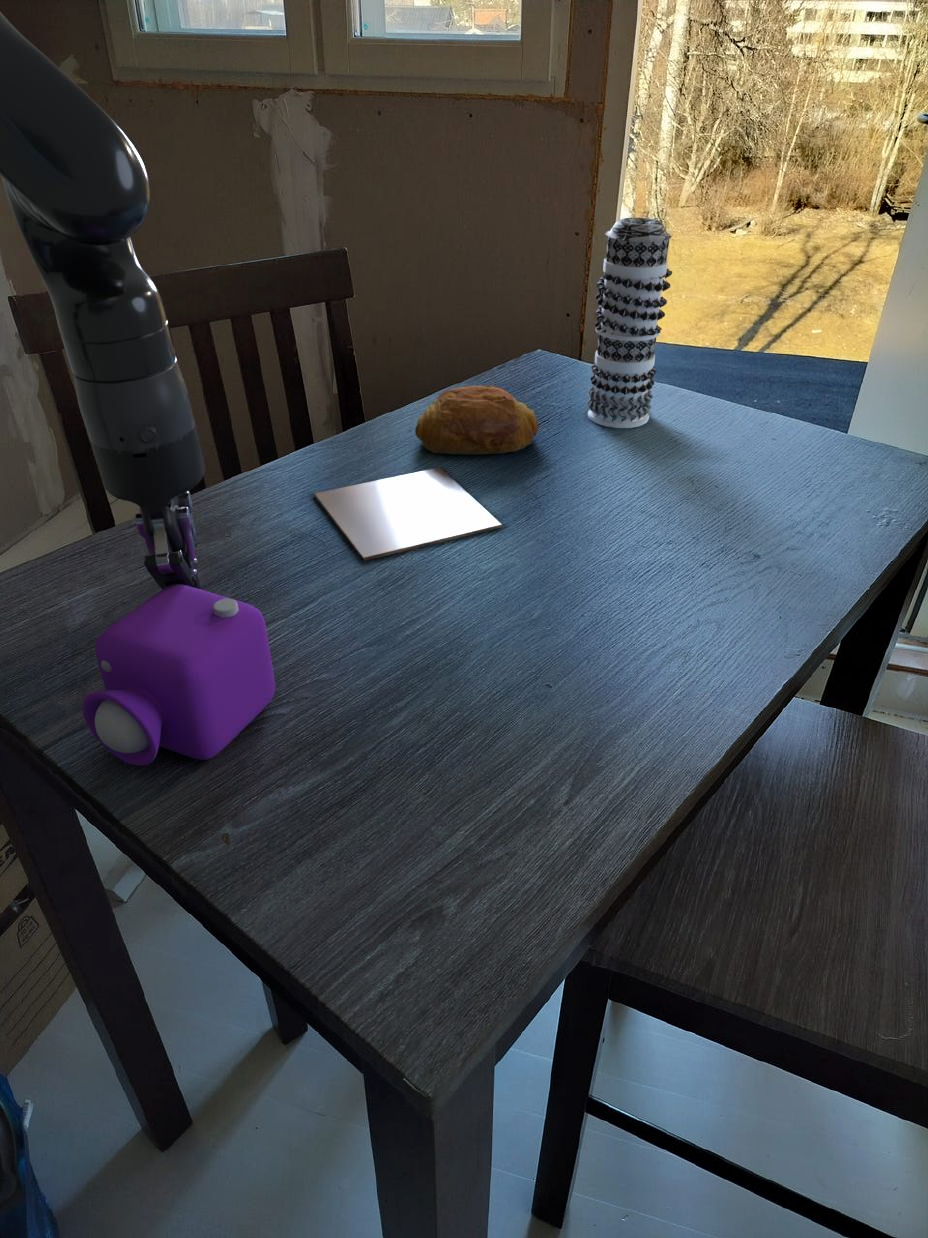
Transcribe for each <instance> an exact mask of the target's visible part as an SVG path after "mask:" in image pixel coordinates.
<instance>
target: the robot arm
mask: <svg viewBox="0 0 928 1238" xmlns="http://www.w3.org/2000/svg"><path fill="white" fill-rule="evenodd" d="M50 59H51V58H49V57H47V55H45V54H44V53H43V52H42V51H41V50H39V49H38V47H36V46H35V45H34V44H33V43H31V42H30V41H29V40H28V39H27V38H26V37H25V36H24V35H22V33H21V32H20V31H19V30H18V29H17V28H16V27H15V26H14V25H13V24H12V23H11V22H10V21H9V20H8V19H7V18H6V16H4V14H3V13H2V12H1V11H0V176H1V179H2V183H3V186H4V191H5V193H6V197H7V201H8V203H9V205H10V208H11V211H12V213H13V216H14V219H15V221H16V223H17V226H18V229H19V231H20V233H21V236H22V238H23V239H24V243H25V244H26V247H27V249H28V251H29V253H30V254H29V255H30V256H31V259H32V260H33V263H34V265H35V267H36V269H37V271H38V274H39V275H40V278H41V280H42V282H43V284H44V286H45V288H46V290H47V292H48V295H49V298H50V301H51V303H52V307H53V309H54V313H55V318H56V322H57V326H58V330H59V334H60V337H61V341H62V343H63V347H64V350H65V353H66V357H67V360H68V364H69V366H70V370H71V372H72V376H73V380H74V385H75V392H76V398H77V404H78V408H79V411H80V414H81V417H82V420H83V421H82V422H83V423H84V427H85V430H86V433H87V437H88V439H89V443H90V446H91V450H92V452H93V456H94V459H95V462H96V465H97V468H98V469H97V470H98V471H99V475H100V478H101V482H102V484H103V487H104V489H105V490H106V492H107V493H108V494H110V495H111V496H113V497H114V498H116V499H119V500H121V501H125V502H126V501H127V502H130V503H133V504H135V505H137V506H138V508H139V512H135V513H134V519H135V524H136V527H137V530H138V534H139V535H140V536H141V537H142V538H144V539H143V540H144V542H145V545H146V548H147V551H148V555H145V556H144V562H143V563H144V567H145V568H146V570H147V572H148V573H149V575H150V576H151V578H152V579H153V580H154V581H155V582H156V584H157V585H158V586H159V588H160V589H161V590H163V589H164V588H166V587H168V586H171V585H175V584H180V585H186V586H190V587H194V588H197V589H200V590H202V587H201V583H200V579H199V575H198V570H197V569H198V565H199V561H198V558H197V556H196V552H197V548H198V542H197V538H198V537H197V536H198V534H197V531H196V526H195V521H194V517H193V505H194V504H193V499H192V495H191V490H192V489H193V488H195V487H196V486H197V485H198V484H199V483H200V482H201V481H202V479H203V477H204V476H205V474H206V473H205V472H206V465H205V461H204V457H203V452H202V447H201V443H200V439H199V435H198V430H197V425H196V422H195V418H194V414H193V408H192V405H191V400H190V396H189V391H188V388H187V385H186V381H185V379H184V376H183V374H182V371H181V368H180V366H179V362H178V359H177V356H176V352H175V347H174V342H173V339H172V334H171V329H170V325H169V320H168V316H167V311H166V309H165V304H164V301H163V299H162V296H161V293H160V291H159V289H158V287H157V285H156V284H155V283H154V281H153V280H152V279H151V277H150V276H149V275H148V274H147V272H146V271H145V269H144V268H143V267H142V265H141V263H140V262H139V259H138V258H137V255H136V252H135V248H134V246H133V241H132V239H131V237H132V236H133V235H135V234H136V233H137V232H138V231H139V230H140V228H141V227H142V226H143V224H144V222H145V221H146V218H147V216H148V213H149V209H150V204H151V185H150V184H151V183H150V179H149V175H148V172H147V168H146V166H145V164H144V161H143V159H142V157H141V156H140V153H139V152H138V150H137V148H136V147H135V145H134V144H133V143H132V141H131V140H130V138H129V137H128V136H127V134H126V133H125V132H124V131H123V130H122V128H120V126H119V125H118V124H117V123H116V122H115V121H114V120H113V118H111V117H110V115H109V114H108V113H106V111H105V110H104V109H103V108H102V107H101V106H100V105H98V104H97V102H96V101H95V100H93V98H92V97H90V96H89V95H88V94H87V93H86V92H85V91H84V90H83V89H82V88H81V87H80V86H79V85H78V84H77V83H76V82H74V81H73V80H72V79H71V77H69V76H68V75H67V74H66V73H65V72H64V71H63V70H61V68H59V67H58V66H57V65H56V64H55V63H54V62H53V61H52V60H50Z"/></svg>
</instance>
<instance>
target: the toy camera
mask: <svg viewBox="0 0 928 1238" xmlns="http://www.w3.org/2000/svg"><path fill="white" fill-rule="evenodd" d="M94 651H95V652H94V653H95V656H96V660H97V664H98V668H99V672H100V676H101V679H102V682H103V685H104V688H105V690H104V689H103V690H98V691H97V690H96V691H92V692H90V693H89V694H87V695H86V696H85V697H84V698H83V701H82V706H81V707H82V709H81V710H82V715H83V717H84V718H83V719H84V720H85V723H86V725H87V726H88V728H89V730H90V731H91V733H92V734H93V736H94V737H95V738H96V739H97V740H98V742H99V743H100V744H101V745H102V747H104V748H105V749H106V750H107V751H108V752H110V753H111V754H112V755H113V756H115V757H116V758H118V759H120V760H121V761H123V762H125V763H127V764H130V765H133V766H137V767H144V766H149V765H150V764H151V763H153V762H154V761H155V759H156V758H157V756H158V755H157V754H158V752H159V747H161V748H163V749H166V750H169V751H171V752H174V753H177V754H179V755H183V756H185V757H188V758H192V759H194V760H199V761H207V760H210V759H212V758H214V757H215V756H217V755H218V754H219V753H220V752H221V751H223V750H224V748H226V747H227V746H228V745H229V744H230V743H231V742H232V741H233V740H234V739H235V738H236V737H237V736H238V735H239V734H240V733H241V732H242V731H243V730H244V729H245V728H246V727H247V726H248V725H249V724H250V723H251V722H252V721H253V720H254V719H255V718H256V717H258V715H259V714H260V713H261V712H262V711H263V710H264V709H265V708H266V707H267V706H268V705H269V704H270V702H271V701H272V699H273V698H274V696H275V692H276V681H275V674H274V667H273V661H272V655H271V650H270V643H269V637H268V632H267V626H266V622H265V617H264V616H263V614H262V612H261V610H260V609H258V608H257V607H255V606H253V605H251V604H248V603H246V602H243V601H240V600H237V599H234V598H230V597H227V596H223V595H221V594H217V593H214V592H210V591H207V590H203V589H201V590H200V589H197V588H194V587H190V586H186V585H180V584H175V585H171V586H168V587H166V588H164V589H163V590H162V589H161V590H159V591H158V592H156V593H155V594H154V595H152V596H151V597H150V598H148V599H147V600H145V601H144V602H142V603H141V604H140V605H138V606H137V607H135V608H134V609H133V610H131V611H129V612H128V613H127V614H126V615H124V616H123V617H122V618H120V619H118V620H117V621H116V622H115V623H113V624H112V625H111V626H109V627H108V628H106V629H105V630H104V631H103V632H102V633H101V634H100V635H98V637H97V639H96V640H95V645H94Z"/></svg>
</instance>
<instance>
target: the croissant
mask: <svg viewBox="0 0 928 1238" xmlns="http://www.w3.org/2000/svg"><path fill="white" fill-rule="evenodd" d="M416 422H417V423H416V426H415V430H414V432H415V433H414V434H415V437H416V438H417V439H419V440H420V441H421V443H422V445H423V448H425V449H426V450H428V451H429V452H431V453H435V454H447V455H449V454H450V455H489V454H490V455H492V454H493V455H494V454H506V453H508V452H517V451H519V450H522V449H525V448H526V446H529V445H531V444H532V443H533V441H534V437H536V436H537V434H538V431H539V422H538V418H537V415H536V413H535V410H533V409H530V408H529V407H528V406H527V404H525V403H523V402H521V401H518V400H516V398H515V397H514V396H513V395H512V394H510V393H509V392H508V391H506V390H505V388H502V387H501V388H500V387H497V386H493V385H488V384H486V385H467V386H461V387H456V388H455V387H454V388H451V389H449V390H443V391H442V392H441V393H439V395H438V396H437V397H436V399H435V400H433V402H432V403H431V404H430V405H429V406H428V407H427V408H426V409H425V411H424V413H423V414H421V415H420V416H419V418H418V419H417V421H416Z"/></svg>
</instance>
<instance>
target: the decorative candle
mask: <svg viewBox="0 0 928 1238" xmlns="http://www.w3.org/2000/svg"><path fill="white" fill-rule="evenodd" d="M604 235H605V236H606V237H607V244H606V256H605V258H603V268H602V272H603V276H601V277H600V278H599V279H598V282H597V283H596V287H597V291H598V293H597V294H596V295H595V299H596V303H597V305H599V306H598V307H597V309H596V311H595V312H594V314H595V316H596V322H595V323H594V325H593V326H594V327H595V329H594V330H595V332H596V333H597V335H598V339H597V349H596V351H594V352H595V353H594V362H593V364H592V365H591V367H590V368H591V371H592V373H593V375H591V377H590V381H591V384H592V386H591V387H590V388H589V390H588V395H589V399H588V401H587V405H588V408H589V410H588V411H587V416H588V419H589V420H590V421H591V422H593V423H595V424H597V425H600V426H603V427H608V428H614V429H632V428H637V427H641V426H644V425H645V424H647V423H648V421H649V419H650V414H649V413H650V410H651V409H652V405H651V404H650V403H651V402H652V399H653V397H654V395H653V393H652V388H653V386H654V385H655V380H653V378H654V377H655V375H656V373H657V369H656V368H655V360H656V353H655V352H656V344H657V338H658V337H659V336H660V334H662V333H661V332H662V330H663V329H662V327H661V326H659V324H658V321H660V320H663V318H665V316H666V313H665V312H664V310H663V309H662V308H663V307H665V306H666V305H667V304H668V300H667V298H665V297H664V296H663V295H662V292H663V293H664V292H666V291H667V290H668V289H670V288H671V283H670V282H668V280H667V279H668V278H669V277H671V276H672V274H673V270H670V269H669V268H668V263H669V261H668V253H669V246H670V239H671V238H672V237H673V235H671V233H670V232H668V231H667V230H666V226H665V225H664V223H663V222H662V221H660V220H658V219H655V218H650V217H625V218H621V219H618V220H616V222H615V223H614V224H613V226H612V228H611V229H610V230H607V231H606V232H604Z"/></svg>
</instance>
